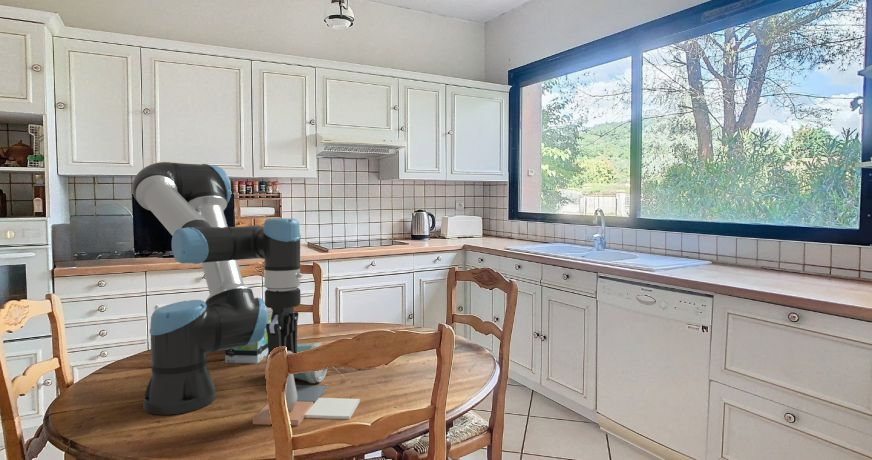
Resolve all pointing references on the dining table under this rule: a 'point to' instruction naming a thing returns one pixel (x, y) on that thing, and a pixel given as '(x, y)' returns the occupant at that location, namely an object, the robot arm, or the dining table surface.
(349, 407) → the white coaster
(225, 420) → the dining table surface
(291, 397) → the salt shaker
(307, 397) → the slate coaster
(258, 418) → the terracotta coaster
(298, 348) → the disposable coffee cup
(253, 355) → the tea box
